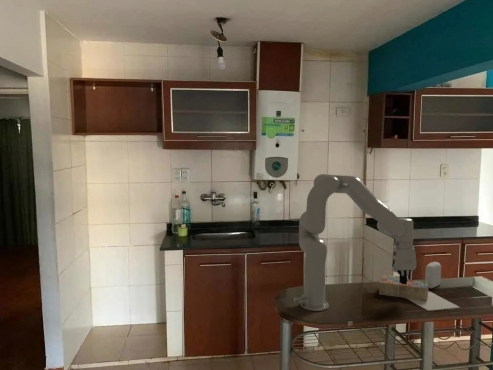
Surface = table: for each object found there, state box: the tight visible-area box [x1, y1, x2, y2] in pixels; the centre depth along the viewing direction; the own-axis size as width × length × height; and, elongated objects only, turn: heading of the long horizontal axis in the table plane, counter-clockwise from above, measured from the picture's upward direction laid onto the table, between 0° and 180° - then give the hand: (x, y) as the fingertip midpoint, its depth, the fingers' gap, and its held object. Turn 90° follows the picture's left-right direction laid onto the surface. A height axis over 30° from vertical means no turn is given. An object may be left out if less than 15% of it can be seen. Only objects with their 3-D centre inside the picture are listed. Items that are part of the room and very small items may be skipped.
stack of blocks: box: [378, 274, 429, 301], centre depth 183 cm, size 21×6×12 cm
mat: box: [406, 290, 461, 312], centre depth 178 cm, size 16×26×1 cm, turn 11°
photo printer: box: [424, 261, 442, 289], centre depth 195 cm, size 10×4×12 cm, turn 127°
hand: (403, 283), depth 175 cm, fingers closed
